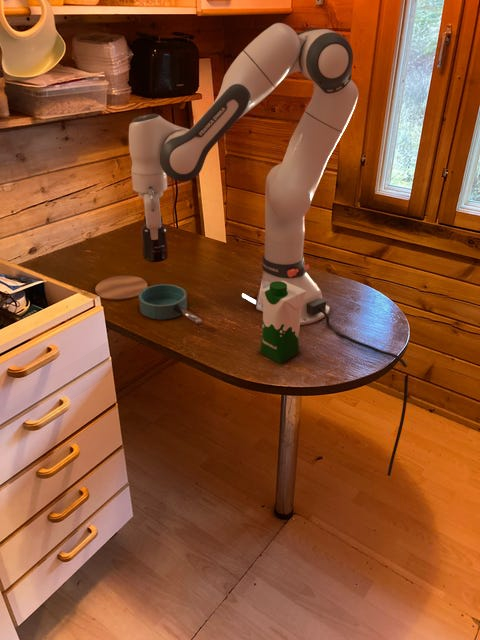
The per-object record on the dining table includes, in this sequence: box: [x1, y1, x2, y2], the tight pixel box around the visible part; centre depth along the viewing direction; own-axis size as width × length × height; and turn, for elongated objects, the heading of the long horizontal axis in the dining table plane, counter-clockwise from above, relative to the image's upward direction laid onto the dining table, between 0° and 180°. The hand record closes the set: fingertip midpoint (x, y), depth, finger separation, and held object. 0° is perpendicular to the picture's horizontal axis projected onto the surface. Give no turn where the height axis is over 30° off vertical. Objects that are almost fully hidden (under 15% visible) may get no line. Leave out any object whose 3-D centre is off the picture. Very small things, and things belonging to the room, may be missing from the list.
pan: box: [138, 283, 188, 321], centre depth 148 cm, size 14×14×4 cm
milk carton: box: [259, 281, 306, 365], centre depth 125 cm, size 9×9×20 cm
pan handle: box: [174, 304, 203, 327], centre depth 139 cm, size 12×2×2 cm, turn 41°
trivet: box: [94, 275, 149, 301], centre depth 159 cm, size 16×16×1 cm
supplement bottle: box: [140, 214, 169, 263], centre depth 139 cm, size 7×7×12 cm
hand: (153, 233), depth 138 cm, fingers closed on supplement bottle, 7 cm apart
